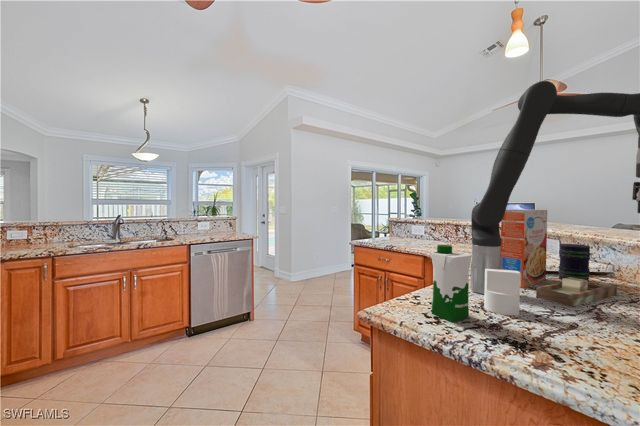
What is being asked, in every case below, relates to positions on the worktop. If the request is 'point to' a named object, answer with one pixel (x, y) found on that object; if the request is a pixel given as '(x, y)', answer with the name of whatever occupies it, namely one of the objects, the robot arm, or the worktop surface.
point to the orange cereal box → (524, 244)
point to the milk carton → (450, 284)
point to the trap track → (574, 294)
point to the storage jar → (574, 261)
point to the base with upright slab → (502, 291)
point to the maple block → (574, 285)
